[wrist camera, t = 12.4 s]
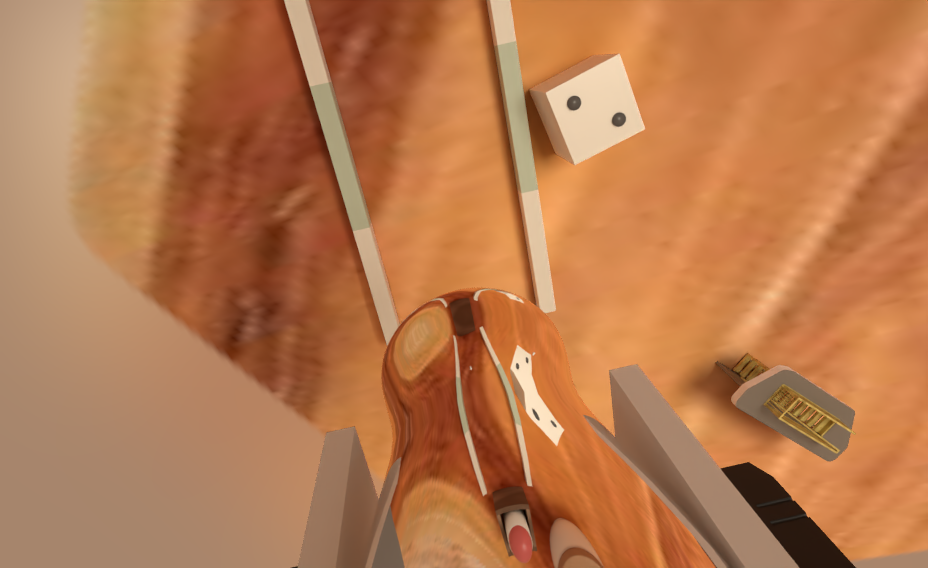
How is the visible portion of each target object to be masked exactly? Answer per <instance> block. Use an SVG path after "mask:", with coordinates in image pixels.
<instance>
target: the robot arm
mask: <svg viewBox="0 0 928 568" xmlns="http://www.w3.org/2000/svg"><path fill="white" fill-rule="evenodd" d="M609 374H610V385H611V396H612V407H613V418H614V429H615V438H616V439H617V440H618V441H619V442H620V443H621V444H622V445H623V446H624V447H625V448H626V449H627V450H628V451H629V452H630V453H631V455H632V456H633V457H634V458H635V459H636V460H637V461H638V462H639V463H640V464H641V465H642V466H643V467H644V468H645V469H646V471H647V472H648V473H649V474H650V475H651V476H652V477H653V478H654V479H655V480H656V481H657V482H658V483H659V484H660V486H661V487H662V488H663V489H664V490H665V491H666V492H667V493H668V494H669V495H670V496H671V497H672V498H673V499H674V501H675V502H676V503H677V504H678V505H679V506H680V508H681V509H682V510H683V511H684V512H685V514H686V515H687V516H688V517H689V518H690V519H691V521H692V522H693V523H694V524H695V525H696V527H697V528H698V529H699V530H700V531H701V533H702V534H703V535H704V536H705V537H706V538H707V540H708V541H709V542H710V543H711V544H712V546H713V547H714V548H715V549H716V550H717V552H718V553H719V554H720V555H721V556H722V557H723V559H724V560H725V561H726V562H727V563H728V565H729V566H730V567H731V568H856V567H855V566H854V565H853V564H852V563H851V562H850V561H849V560H848V559H847V557H846V556H845V555H844V554H843V553H842V552H841V551H840V550H839V549H838V548H837V546H836V545H835V544H834V543H833V542H832V541H831V540H830V539H829V538H828V537H827V536H826V534H825V533H824V532H823V531H822V530H821V529H820V528H819V527H818V526H817V525H816V523H815V522H814V521H813V520H812V519H811V518H810V517H809V518H808V517H807V515H806V513H805V511H804V510H803V509H802V508H801V507H800V506H799V505H798V504H797V503H796V502H795V501H793V500H792V499H791V496H790V495H789V494H788V493H787V492H786V491H785V489H784V488H783V487H782V486H781V485H780V484H779V483H778V482H777V481H776V480H775V479H774V477H772V476H771V475H769V474H767V473H766V472H764V471H762V470H761V469H759V468H757V467H756V466H754V465H752V464H751V463H749V462H747V463H743V464H738V465H734V466H730V467H725V468H721V469H720V468H719V466H718V465H717V464H716V463H715V461H714V460H713V459H712V458H711V456H710V455H709V454H708V453H707V451H706V450H705V449H704V448H703V446H702V445H701V444H700V443H699V441H698V440H697V439H696V438H695V436H694V435H693V434H692V433H691V431H690V430H689V429H688V428H687V426H686V425H685V424H684V423H683V421H682V420H681V419H680V418H679V416H678V415H677V414H676V413H675V411H674V410H673V409H672V408H671V406H670V405H669V404H668V403H667V401H666V400H665V399H664V398H663V396H662V395H661V394H660V393H659V391H658V390H657V389H656V388H655V386H654V385H653V384H652V383H651V381H650V380H649V379H648V378H647V376H646V375H645V374H644V373H643V371H642V370H641V369H640V368H639V366H638V365H637V364H635V365H631V366H626V367H622V368H617V369H613V370H609ZM378 501H379V499H378V496H377V493H376V490H375V487H374V484H373V481H372V478H371V475H370V472H369V469H368V466H367V462H366V459H365V456H364V453H363V450H362V447H361V444H360V441H359V438H358V435H357V432H356V429H355V426H354V427H350V428H345V429H341V430H336V431H332V432H327V433H326V436H325V441H324V445H323V450H322V455H321V460H320V464H319V469H318V474H317V479H316V483H315V488H314V493H313V497H312V503H311V507H310V512H309V517H308V521H307V526H306V531H305V535H304V540H303V545H302V549H301V554H300V559H299V564H298V566H297V567H292V568H360V564H361V561H362V557H363V554H364V550H365V547H366V543H367V539H368V536H369V532H370V529H371V525H372V522H373V518H374V515H375V511H376V508H377V505H378Z"/></svg>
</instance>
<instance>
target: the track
mask: <svg viewBox="0 0 928 568" xmlns="http://www.w3.org/2000/svg"><path fill="white" fill-rule="evenodd" d="M284 2H285V5H286V9H287V12H288V15H289V19H290V22H291V25H292V29H293V32H294V35H295V39H296V42H297V46H298V49H299V52H300V56H301V59H302V62H303V66H304V69H305V72H306V76H307V79H308V82H309V86H310V89H311V92H312V96H313V99H314V102H315V106H316V109H317V113H318V116H319V119H320V123H321V126H322V129H323V133H324V136H325V139H326V143H327V146H328V149H329V153H330V156H331V159H332V163H333V166H334V169H335V173H336V176H337V180H338V183H339V186H340V190H341V193H342V196H343V200H344V203H345V206H346V210H347V213H348V216H349V220H350V223H351V226H352V230H353V233H354V236H355V240H356V243H357V247H358V250H359V253H360V257H361V260H362V263H363V267H364V270H365V273H366V277H367V280H368V283H369V287H370V290H371V293H372V297H373V300H374V303H375V307H376V310H377V314H378V317H379V320H380V324H381V327H382V330H383V334H384V337H385V340H386V344H387V346H388V344H389V341H390V339H391V338H392V336H393V334H394V332H395V331H396V329H397V328H398V327H399V325H400V322H399V319H398V315H397V312H396V308H395V305H394V301H393V298H392V294H391V291H390V287H389V283H388V280H387V276H386V273H385V269H384V266H383V262H382V259H381V255H380V252H379V248H378V244H377V241H376V237H375V234H374V230H373V227H372V223H371V220H370V216H369V213H368V209H367V205H366V202H365V198H364V195H363V191H362V188H361V184H360V181H359V177H358V174H357V170H356V166H355V163H354V159H353V156H352V152H351V149H350V145H349V142H348V138H347V135H346V131H345V127H344V124H343V120H342V117H341V113H340V110H339V106H338V103H337V99H336V96H335V92H334V89H333V85H332V81H331V78H330V74H329V71H328V67H327V64H326V60H325V57H324V53H323V50H322V46H321V42H320V39H319V35H318V32H317V28H316V25H315V21H314V18H313V14H312V11H311V7H310V3H309V0H284ZM487 7H488V13H489V19H490V25H491V31H492V37H493V43H494V49H495V55H496V61H497V68H498V74H499V80H500V86H501V92H502V98H503V104H504V110H505V116H506V123H507V129H508V135H509V141H510V147H511V153H512V159H513V165H514V171H515V177H516V184H517V190H518V196H519V202H520V208H521V214H522V220H523V226H524V232H525V239H526V245H527V251H528V257H529V263H530V269H531V275H532V281H533V287H534V293H535V300H536V306H537V307H538V308H540V309H541V310H542V311H543V312H544V313H548V312H552V311H556V307H555V300H554V293H553V287H552V280H551V273H550V266H549V260H548V253H547V246H546V239H545V233H544V226H543V219H542V212H541V206H540V199H539V192H538V185H537V179H536V172H535V165H534V158H533V152H532V145H531V138H530V131H529V125H528V118H527V111H526V104H525V98H524V91H523V84H522V77H521V70H520V64H519V57H518V50H517V43H516V37H515V30H514V23H513V16H512V10H511V3H510V0H487Z"/></svg>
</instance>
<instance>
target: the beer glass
mask: <svg viewBox="0 0 928 568" xmlns="http://www.w3.org/2000/svg"><path fill="white" fill-rule="evenodd" d="M381 381H382V390H383V396H384V400H385V404H386V408H387V412H388V415H389V419H390V422H391V426H392V436H393V442H392V451H391V457H390V461H389V465H388V469H387V473H386V477H385V481H384V484H383V488H382V491H381V494H380V498H379V501H378V505H377V508H376V511H375V515H374V518H373V522H372V525H371V529H370V532H369V536H368V539H367V543H366V547H365V550H364V554H363V557H362V561H361V564H360V568H731V567H730V566H729V565H728V563H727V562H726V561H725V560H724V559H723V557H722V556H721V555H720V554H719V553H718V552H717V550H716V549H715V548H714V547H713V546H712V544H711V543H710V542H709V541H708V540H707V538H706V537H705V536H704V535H703V534H702V533H701V531H700V530H699V529H698V528H697V527H696V525H695V524H694V523H693V522H692V521H691V519H690V518H689V517H688V516H687V515H686V514H685V512H684V511H683V510H682V509H681V508H680V506H679V505H678V504H677V503H676V502H675V501H674V499H673V498H672V497H671V496H670V495H669V494H668V493H667V492H666V491H665V490H664V489H663V488H662V487H661V486H660V484H659V483H658V482H657V481H656V480H655V479H654V478H653V477H652V476H651V475H650V474H649V473H648V472H647V471H646V469H645V468H644V467H643V466H642V465H641V464H640V463H639V462H638V461H637V460H636V459H635V458H634V457H633V456H632V455H631V453H630V452H629V451H628V450H627V449H626V448H625V447H624V446H623V445H622V444H621V443H620V442H619V441H618V440H617V439H616V438H615V437H614V436H613V435H612V434H611V433H610V432H609V431H608V430H607V429H606V427H605V426H604V425H603V424H602V423H601V422H600V421H599V420H598V419H597V418H596V416H595V415H594V414H593V413H592V412H591V411H590V410H589V409H588V407H587V406H586V405H585V403H584V402H583V400H582V399H581V397H580V396H579V394H578V393H577V390H576V388H575V386H574V383H573V380H572V375H571V371H570V366H569V361H568V357H567V353H566V349H565V346H564V343H563V340H562V338H561V336H560V334H559V332H558V330H557V328H556V326H555V325H554V323H553V322H552V321H551V319H550V318H549V317H548V316H547V315H546V314H545V313H544V312H543V311H542V310H541V309H540V308H538V307H537V306H536V305H534V304H533V303H532V302H530V301H528V300H527V299H525V298H523V297H521V296H519V295H516V294H514V293H511V292H508V291H504V290H500V289H494V288H465V289H459V290H455V291H451V292H448V293H445V294H442V295H440V296H437V297H435V298H433V299H431V300H429V301H428V302H426V303H424V304H423V305H421V306H420V307H418V308H417V309H416V310H414V311H413V312H412V313H411V314H410V315H409V316H408V317H407V318H406V319H405V320H404V321H403V322H402V323H401V324H400V325H399V327H398V328H397V329H396V331H395V332H394V334H393V336H392V338H391V339H390V341H389V344H388V346H387V348H386V351H385V354H384V358H383V362H382V371H381Z"/></svg>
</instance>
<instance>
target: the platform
mask: <svg viewBox="0 0 928 568" xmlns="http://www.w3.org/2000/svg"><path fill="white" fill-rule="evenodd" d="M751 359H752V360H751ZM749 361H751V362H750V363H749V364H748V365H747V366H746V367H745V365H746V364H747V363H748V362H749ZM716 364H717V365H718V366H719V367H720V368H721V369H722V370H723V371H724V372H725V373H726V374H728V375H729V376H730V377H731V378H732V379H733V380H734V381H735V382H736V383H737V384H738V385H739V386H740V387H739V389H738V390H737V391H736V392H735V393H734V394H733V395H732V397H731V401H732V403H733V404H734V405H735V406H736V407H737V408H738V409H740V410H742V411H744V412H745V413H747V414H749V415H750V416H752V417H754V418H755V419H757V420H759V421H760V422H762V423H764V424H765V425H767V426H769V427H770V428H772V429H774V430H776V431H777V432H779V433H781V434H782V435H784V436H786V437H787V438H789V439H791V440H792V441H794V442H796V443H797V444H799V445H801V446H803V447H804V448H806V449H808V450H809V451H811V452H813V453H814V454H816V455H818V456H819V457H821V458H823V459H824V460H826V461H833V460H835V459H836V458H837V457H838V456H839V455H840V454H841V453H842V452H843V451H844V450H845V449H846V448H847V447H848V442H849V438H850V434H851V433H853V434H854V435H855V434H856V433H855V432H854V431H852V430H851V429H852V425H853V420H854V416H855V411H854V410H853V409H852V408H850V407H849V406H848V405H846V404H845V403H843V402H842V401H840V400H838V399H837V398H835V397H834V396H832V395H831V394H829V393H828V392H826V391H825V390H823V389H822V388H820V387H819V386H817V385H815V384H814V383H812V382H811V381H809V380H808V379H806V378H805V377H803V376H802V375H800V374H799V373H797V372H796V371H794V370H792V369H791V368H789V367H787V366H782V365H778V366H775V367H773V368H772V369H769V368H767V367H766V366H765V365H763V364H762V363H761V362H759V361H758V360H757V359H755V358H753V357H752V356H751V355H750V354H748V353H747V355H746V356H744V358H743V359H742V360H741V361H740V362H739V363H738V364H737V366H736V367H735V368H734V369H733V370H734V371H736V372H738V373H739V372H741V373H740V375H741V376H740V375H738V374H737V373H735V372H734V371H732V370H730V369H729V368H727V367H726V366H724V365H722V364H721V363H719V362H718V361H717V362H716ZM757 364H759V365H757ZM755 366H757V367H756V368H755V369H754V370H753V371H752V372H751V373H750V371H751V370H752V369H753V368H754V367H755ZM744 367H745V368H744ZM743 368H744V369H743ZM742 369H743V371H741V370H742ZM764 369H765V370H764ZM762 370H763V372H762V373H761V374H760V375H759V376H758V374H759V373H760V372H761V371H762ZM749 373H750V374H749ZM748 374H749V376H748ZM742 376H743V377H744V378H743V377H742ZM746 376H747V378H746V379H745V377H746ZM786 392H788V393H786ZM784 394H786V395H785V396H784ZM782 396H784V397H783V398H782ZM793 397H794V399H792V398H793ZM780 398H782V399H781V400H780ZM791 399H792V401H790V400H791ZM789 401H790V403H788V402H789ZM800 401H802V403H801V404H800V405H799V406H798V407H797V408H796V409H795V410H794V408H795V407H796V406H797V405H798V403H799V402H800ZM787 404H788V405H787ZM807 406H810V407H809V408H808V409H807V410H806V411H805V412H804V413H803V414H802V415H800V414H801V413H802V412H803V411H804V409H805V408H806V407H807ZM815 410H816V411H817V412H816V413H815V414H814V415H813V416H812V417H811V418H810V419H809V420H807V419H808V418H809V417H810V416H811V415H812V414H813V413H814V412H815ZM823 415H824V417H823V418H822V419H821V420H820V421H819V422H818V423H817V424H816V425H814V424H815V423H816V422H817V421H818V420H819V419H820V418H821V417H822V416H823ZM812 426H814V427H812Z"/></svg>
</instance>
